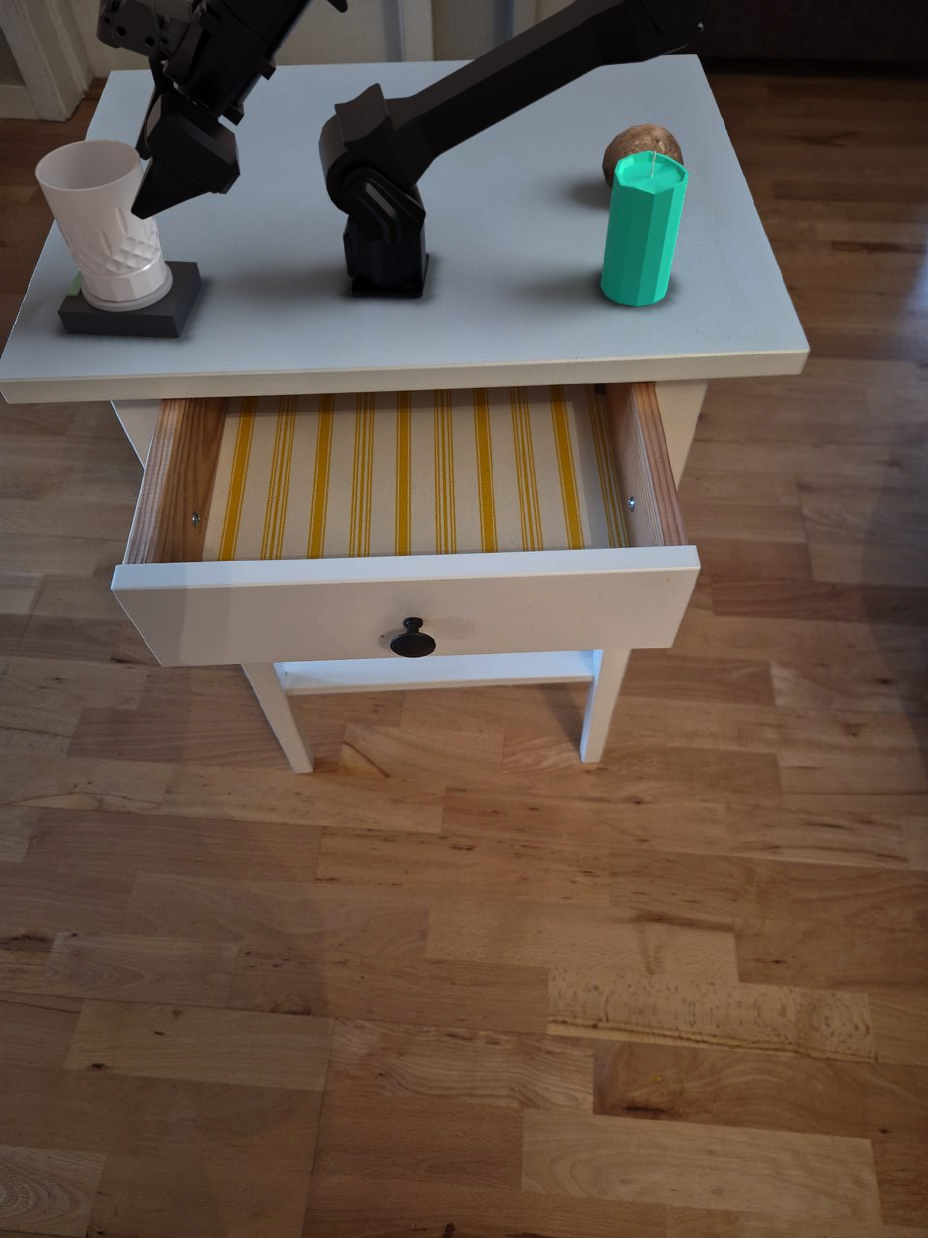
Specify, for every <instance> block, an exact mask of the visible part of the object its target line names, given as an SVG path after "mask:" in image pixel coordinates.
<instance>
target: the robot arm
mask: <svg viewBox="0 0 928 1238" xmlns="http://www.w3.org/2000/svg"><path fill="white" fill-rule="evenodd" d="M326 1H327V2H328V3H329V4H330V5H331V6H332V7H334V9H335V10H336V11H338V12H339V13H341V14H345V13H346V12H347V11H348V9H349V3H348V0H326ZM313 2H314V0H99V5H98V16H97V24H96V33H95V36H96V38H97V39H98V41H99V42H101V43H102V44H104V45H106V46H108V47H111V48H113V49H115V50H116V49H117V50H118V49H120V48H122V49H125V50H127V51H131V52H133V53H136V54H139V55H141V56H144V57H147V58H148V64H149V68H150V72H151V75H152V79H153V83H154V86H153V89H152V92H151V94H150V95H151V96H150V99H149V102H148V106H147V109H146V112H145V115H144V117H143V121H142V124H141V127H140V130H139V134H138V137H137V140H136V143H135V146H134V148H135V149H136V150H137V152H138V153H139V156H140V160H143V161H148V163H147V165H146V168H145V170H144V175H143V178H142V180H141V183H140V185H139V188H138V190H137V193H136V195H135V198H134V201H133V203H132V206H131V213H132V214H133V215H135V216H136V217H138V218H140V219H142V220H144V219H147V218H149V217H151V216H153V215H158V214H160V213H162V212H164V211H166V210H169V209H171V208H173V207H175V206H178V205H180V204H182V203H184V202H186V201H189V200H192V199H194V198H198V197H200V196H203V195H205V194H208V193H211V194H213V195H216V194H219V195H227V194H228V192H229V191H230V190H231V189H232V187H233V185H235V183H236V182H237V180H238V179H239V177H240V176H241V167H240V166H241V165H240V151H239V146H238V142H237V137H236V133H235V132H233V131H232V130H230V129H229V128H228V127H226V125H224V124H222V123H221V121H220V120H219V119H220V118H221V117H223V118H225V119H226V120H228V121H229V122H230V123H232V125H234V126H235V127H238V126H239V124H240V123H241V121H242V120H243V118H244V117H245V107H244V103H245V101H246V100H247V98H248V97H249V96H250V94H251V93H252V91H253V90H254V88H255V87H256V85H257V84H258V82H259V81H260V80H261V78H262V77H263V78H264V79H265V80H267V81H270V79H271V77H273V75H274V74H275V72H276V70H277V64H276V63H277V62H276V56H277V55H278V53H279V52H280V51H281V49H282V47H283V46H284V44H286V41H287V40H288V39H289V37H290V36H291V34H292V33H293V31H294V30H295V28H296V27H297V25H298V24H299V23H300V21H301V20H302V18H303V17H304V15H305V14H306V12H307V11H308V10H309V8H310V7H311V5H312V4H313ZM713 2H714V0H574V1H573V2H572V3H570V4H569V5H568V6H566V7H563V8H562V9H560V10H558V11H557V12H555V13H554V14H552V15H550V16H548V17H547V18H545V19H543V20H541V21H540V22H538V23H536V24H534V25H533V26H531V27H529V28H527V29H526V30H524V31H522V32H520V33H519V34H517V35H515V36H513V37H512V38H510V39H508V40H507V41H505V42H503V43H501V44H499V45H498V46H496V47H494V48H493V49H491V50H489V51H487V52H486V53H484V54H482V55H481V56H479V57H478V58H475V59H474V60H472V61H469V62H468V63H467V64H465V65H463V66H462V67H459V68H458V69H456V70H454V71H453V72H451V73H449V74H448V75H446V76H444V77H443V78H441V79H439V80H437V81H436V82H434V83H432V84H430V85H429V86H426V87H425V88H424V89H422V90H419V91H418V92H416V93H415V94H411V95H409V96H405V97H393V98H391V97H390V98H385V95H384V92H383V90H382V86H381V84H380V83H379V82H375V83H374V84H372V85H370V86H368V87H367V88H365V90H363V91H362V92H361V93H360V94H359V95H358V96H356V97H354V98H353V99H350V100H348V101H346V102H340V103H335V104H334V106H333V108H334V112H335V113H334V115H332V116H331V117H330V118H329V119H328V120H326V121H325V122H324V124H323V126H322V127H321V132H320V136H319V138H318V143H317V144H318V155H319V161H320V165H321V170H322V173H323V174H322V175H323V179H324V184H325V189H326V192H327V194H328V197H329V199H330V201H331V202H332V204H333V205H334V206H335V207H336V209H338V210H339V211H341V212H342V213H344V214H346V215H347V219H346V223H345V226H344V230H343V233H342V243H343V250H344V258H345V265H346V272H347V273H346V274H347V277H348V278H349V279H352V280H351V284H350V294H351V295H352V296H355V297H376V298H377V297H379V298H380V297H381V298H405V299H420V298H422V297H423V296H424V292H425V287H426V281H427V275H428V271H429V266H430V265H429V264H430V254H429V253H427V250H426V249H427V248H426V230H425V229H426V228H425V227H426V226H425V221H426V220H425V219H426V217H427V212H426V209H425V206H424V203H423V199H422V197H421V192H420V190H419V187H418V182H419V181H420V180H421V178H422V177H423V176H424V174H425V173H426V172H427V171H428V169H429V168H430V166H431V165H432V164H433V162H434V161H435V160H436V159H437V158H439V156H441V155H443V154H444V153H446V152H448V151H450V150H452V149H453V148H456V147H457V146H459V145H461V144H462V143H464V142H466V141H467V140H469V139H471V138H473V137H475V136H477V135H479V134H480V133H482V132H484V131H486V130H487V129H490V128H491V127H493V126H495V125H496V124H498V123H500V122H502V121H504V120H507V119H508V118H510V117H512V116H513V115H514V114H517V113H518V112H520V111H522V110H523V109H525V108H527V107H529V106H531V105H533V104H534V103H536V102H538V101H540V100H541V99H544V98H545V97H547V96H549V95H551V94H552V93H555V92H556V91H558V90H559V89H561V88H563V87H565V86H567V85H569V84H570V83H572V82H574V81H576V80H578V79H579V78H581V77H583V76H585V75H587V74H588V73H590V72H592V71H594V70H595V69H598V68H601V67H604V66H617V65H626V64H628V65H629V64H638V63H639V64H640V63H644V62H647V61H650V60H653V59H655V58H656V59H657V58H659V57H661V56H665V55H667V54H670V53H673V52H675V51H678V50H679V51H680V49H683V48H685V47H687V46H688V45H690V44H691V43H692V42H693V41H695V40H696V39H697V38H698V37H699V36H700V35H701V34H702V33H703V31H704V26H705V25H706V22H707V20H708V18H709V16H710V14H711V10H712V6H713Z"/></svg>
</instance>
